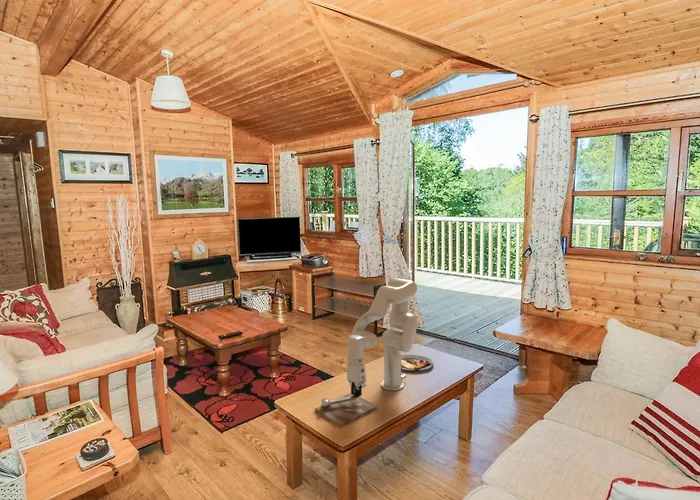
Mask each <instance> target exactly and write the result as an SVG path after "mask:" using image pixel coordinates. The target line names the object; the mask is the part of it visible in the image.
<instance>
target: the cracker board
mask: <svg viewBox="0 0 700 500" xmlns="http://www.w3.org/2000/svg"><path fill="white" fill-rule="evenodd" d="M349 396H353V394H351V392H349V393H347V394H345V395H343V396H340V397H338V398H337V399H339V398H344V397H349ZM376 410H378V406H377V405H376V404H374V403H372V402H370V401H368V400H367V399H364V398H363V397H362V396H359V397H357V399H356V400H351V401H346V402H341V403H336V404H331V405H330V407H329V408H322V404H321V405H320V406H317V407H315V408H314V412H315V413H316V414H318V415H319V414H320V416H322V417H323V418H324V419H325V420H328V421H329V422H330V421H331V423H332V424H333V425H335V426H337V427H338V428H340V429H341V428H343V427H344V426H346V425H348V424H350V423H353V422H354V421H356V420H358V419H360V418H362V417H364V416H366V415H368V414H370V413H372V412H374V411H376Z"/></svg>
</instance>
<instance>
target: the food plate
mask: <svg viewBox="0 0 700 500" xmlns="http://www.w3.org/2000/svg"><path fill="white" fill-rule="evenodd" d="M418 360H419V361H418ZM417 361H418V363H417ZM424 361H425V362H424ZM432 367H434V361H433V360H432V359H430V358H428V357H427V356H423V355H421V354H401V370H405V371H408V372H409V371H410V372H421V371H424V370H425V371H426V370H429V369H431V368H432Z"/></svg>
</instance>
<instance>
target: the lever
mask: <svg viewBox="0 0 700 500" xmlns="http://www.w3.org/2000/svg"><path fill="white" fill-rule="evenodd" d="M356 389H357V385H356V384H355V385H354V386H353V396H349V397H344V398H340V397H338V398H339V399H338V398H335V399H331V400H330V399H329V398H322V399H321V405H322V408H329V407H330V405H331V404H336V403H341V402H346V401H351V400H356V399H357V397H356Z"/></svg>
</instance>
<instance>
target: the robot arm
mask: <svg viewBox="0 0 700 500" xmlns="http://www.w3.org/2000/svg"><path fill="white" fill-rule="evenodd" d="M417 292H418V286H417V283H416V281H413V280H410V279H403V278H398V277H392V278H390V279H389V280H388V282H387V285H381V286H380V287H379V288H378V289H377V292H376V294H375V297H374V299H373V301H372V303H371V306H370V308H369V310H368V311H366V312H365V313H363V315H361V316H360V317H359V318H358V319H357V320H356V322H355V324H354V326H353V327H352V331H351V334H350V335H349V336H348V338H347V356H348V357H347V365H346V366H347V367H346V379H347V381H348V382H349V386H350V393H351V394H353V386H354V385H357V389H356V397H362V395H363V394H362V389H363V388H366V386H367V385H366V382H367V373H366V372H367V370H366V364H365V363H364V362H365V361H364V350H366V349H371V348H374V347H375V346H376V345H377V343H378V336H377V334H375V333H372V332H370V331H367V330H365V328H366V327H367V326H368V325H369V324H370V323H372V322H374V321H379V320H380V319H384V318H385V317H386V315H387V311H388V309H389V307H390V305H391V304H392V306H391V310H390V314H389V319H388V323H389V325H390V327H392V328H394V329H386V330H385V331H383V333H382V335H381V342H382V347H383V348H382V349H383V380H382V381H381V383H380V385H381V388H382V389H385V391H386V390H387V391H390V392H391V391H393V392H394V391H400V390H402V389H403V388H404V387H405V383H404V382H403V380H404V379H407V374H403V375H402V368H401V355H402V353H401V352H403V353H408V352H410V351H411V350H412V348H413V345H414V342H415V337H416V332H417V329H418V319H417V316H416V315H415V314H413V313H409V312H408V308H409V299H411V298H413V297H414V296H415V295H416V294H417ZM395 329H399V330H401V331H402V332H401V331H398V330H395Z"/></svg>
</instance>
